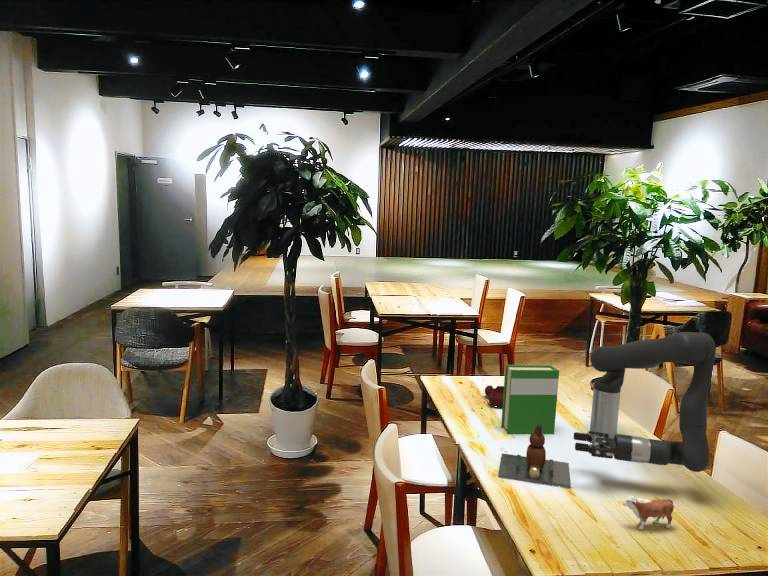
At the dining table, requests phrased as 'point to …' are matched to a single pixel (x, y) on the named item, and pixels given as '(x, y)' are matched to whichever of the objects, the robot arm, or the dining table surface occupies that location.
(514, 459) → the metal mounting plate
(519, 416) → the hardback book
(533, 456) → the wooden figurine
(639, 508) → the bull figurine
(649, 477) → the dining table surface
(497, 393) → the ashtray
